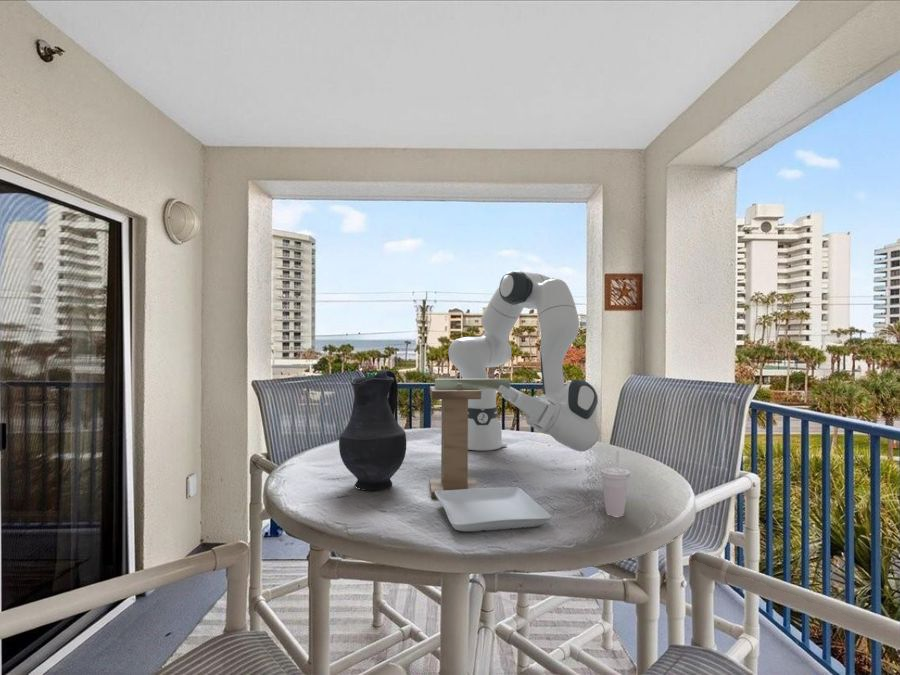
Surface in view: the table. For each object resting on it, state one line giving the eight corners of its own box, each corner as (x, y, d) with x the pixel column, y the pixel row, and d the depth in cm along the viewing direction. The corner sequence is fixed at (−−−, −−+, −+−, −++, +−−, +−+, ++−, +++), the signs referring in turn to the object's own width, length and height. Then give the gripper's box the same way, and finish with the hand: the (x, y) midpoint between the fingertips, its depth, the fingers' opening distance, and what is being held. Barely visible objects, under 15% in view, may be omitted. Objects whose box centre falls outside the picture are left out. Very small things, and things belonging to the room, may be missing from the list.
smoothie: (631, 520, 110) (632, 455, 110) (600, 518, 112) (601, 454, 111) (627, 510, 117) (628, 449, 116) (598, 508, 118) (599, 447, 118)
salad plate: (554, 532, 105) (554, 515, 105) (452, 540, 100) (452, 523, 100) (518, 499, 125) (518, 485, 125) (433, 505, 121) (433, 490, 121)
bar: (434, 388, 132) (434, 378, 132) (507, 387, 133) (507, 378, 133) (435, 389, 129) (435, 379, 129) (509, 388, 131) (509, 379, 131)
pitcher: (326, 491, 130) (326, 372, 129) (367, 471, 149) (367, 367, 149) (387, 499, 124) (388, 374, 123) (422, 477, 143) (422, 369, 143)
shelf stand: (429, 483, 137) (429, 380, 136) (474, 483, 138) (474, 380, 137) (431, 498, 125) (432, 385, 124) (480, 497, 126) (481, 384, 125)
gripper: (536, 396, 143) (494, 371, 142) (558, 407, 123) (509, 378, 122) (525, 416, 143) (483, 391, 142) (545, 430, 123) (496, 401, 122)
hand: (495, 385), depth 132 cm, fingers open, 8 cm apart
